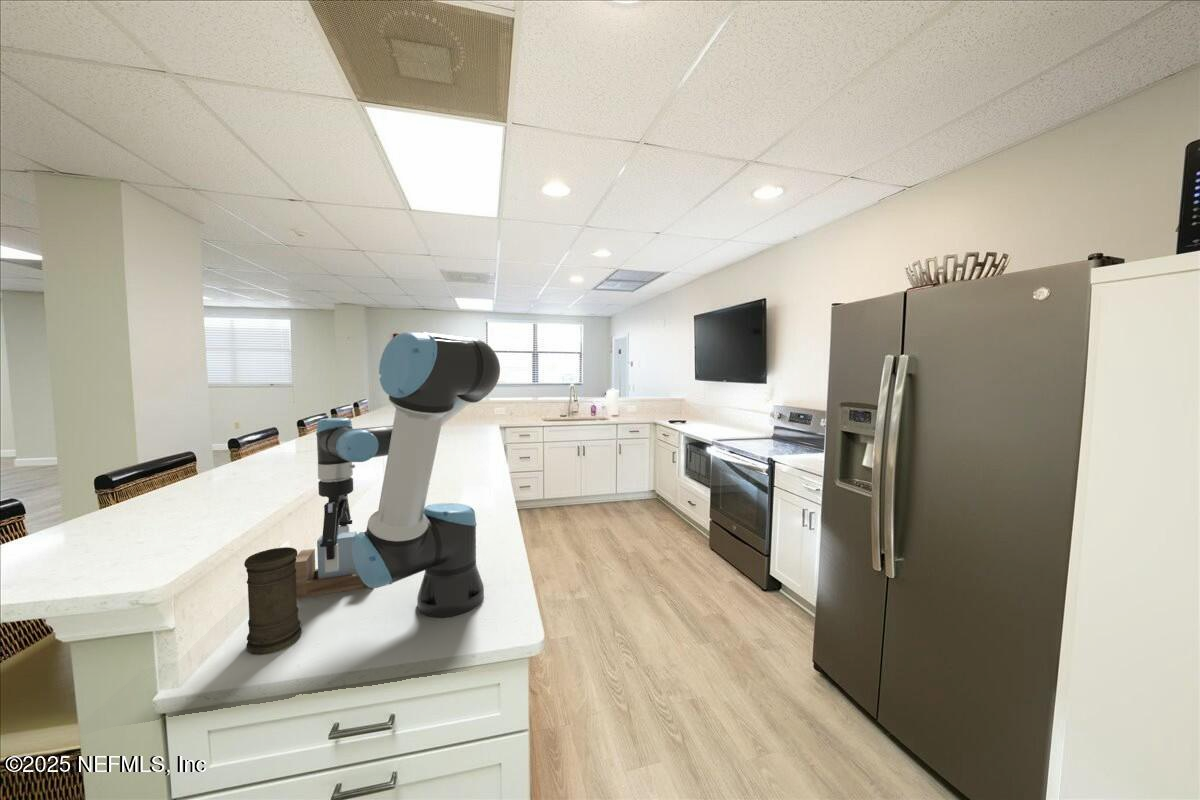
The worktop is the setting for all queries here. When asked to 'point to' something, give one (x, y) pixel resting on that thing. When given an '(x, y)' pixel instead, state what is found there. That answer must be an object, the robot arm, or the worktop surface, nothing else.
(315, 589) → the frame
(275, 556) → the container
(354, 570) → the door
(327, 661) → the worktop surface
